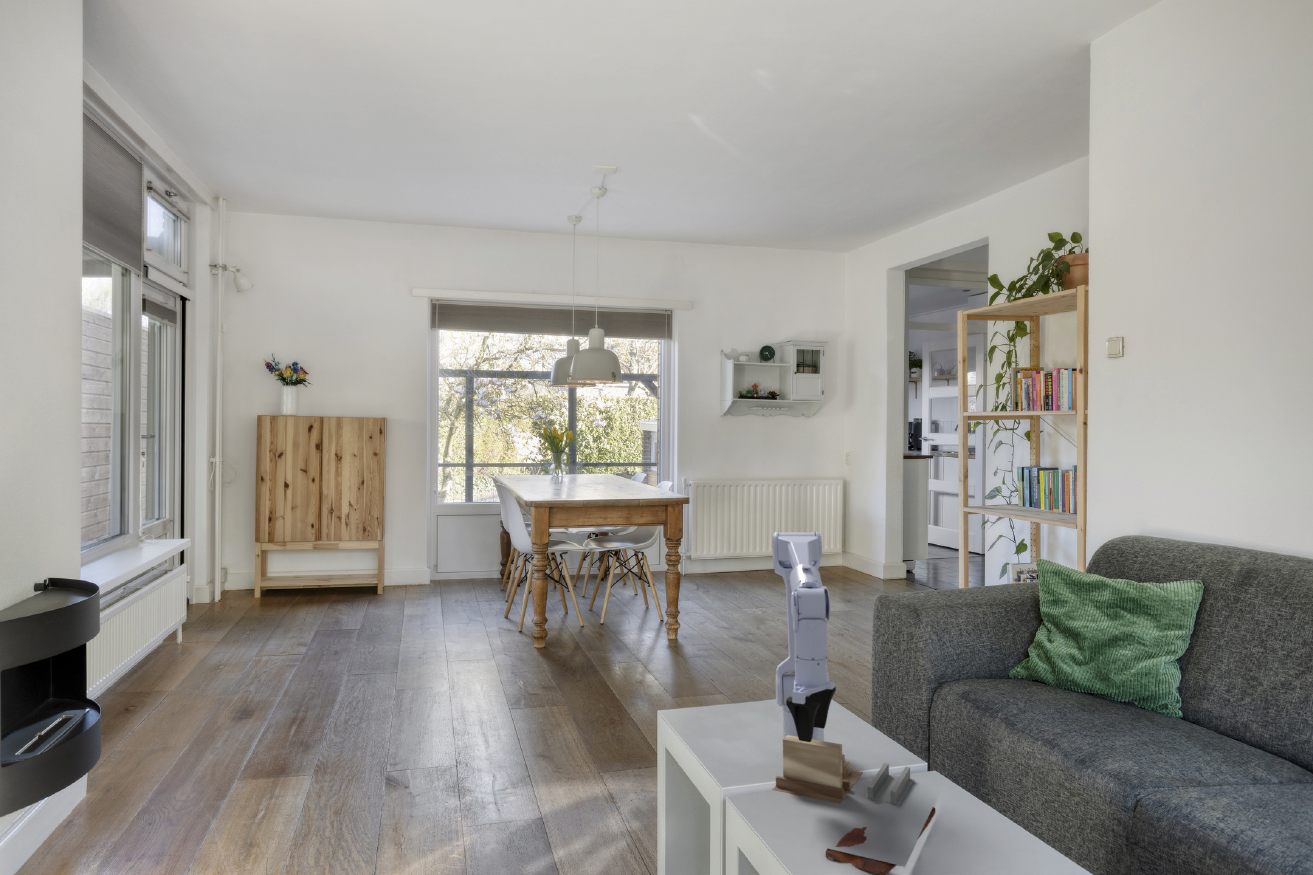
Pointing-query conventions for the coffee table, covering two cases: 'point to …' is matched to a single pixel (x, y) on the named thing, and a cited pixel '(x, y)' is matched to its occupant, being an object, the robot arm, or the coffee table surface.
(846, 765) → the offcut stack
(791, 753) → the birch panel
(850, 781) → the walnut rack
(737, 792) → the coffee table surface
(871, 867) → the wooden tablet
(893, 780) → the grey channel block
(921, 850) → the coffee table surface
